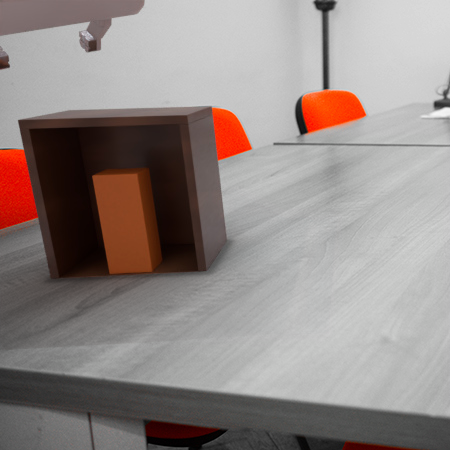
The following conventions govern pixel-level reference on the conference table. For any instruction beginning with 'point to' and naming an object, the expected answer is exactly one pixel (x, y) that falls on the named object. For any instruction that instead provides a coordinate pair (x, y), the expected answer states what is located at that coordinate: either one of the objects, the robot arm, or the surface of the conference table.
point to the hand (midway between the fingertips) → (46, 56)
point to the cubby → (118, 159)
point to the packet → (128, 220)
